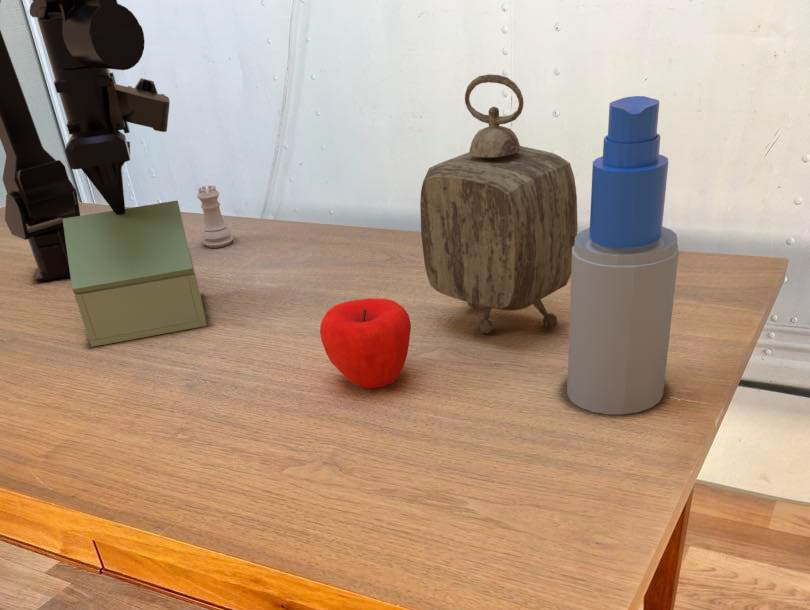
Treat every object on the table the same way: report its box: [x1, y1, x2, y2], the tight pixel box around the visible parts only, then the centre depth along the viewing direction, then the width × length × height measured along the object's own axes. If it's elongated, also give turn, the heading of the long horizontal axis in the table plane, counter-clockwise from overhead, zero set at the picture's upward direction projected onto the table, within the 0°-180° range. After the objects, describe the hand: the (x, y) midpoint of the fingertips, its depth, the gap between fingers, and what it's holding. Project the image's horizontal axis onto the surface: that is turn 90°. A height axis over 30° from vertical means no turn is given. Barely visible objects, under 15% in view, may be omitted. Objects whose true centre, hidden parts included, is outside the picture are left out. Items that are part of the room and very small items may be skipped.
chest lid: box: [63, 200, 194, 295], centre depth 99 cm, size 11×14×1 cm
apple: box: [319, 298, 412, 389], centre depth 84 cm, size 9×9×8 cm
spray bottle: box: [566, 95, 680, 416], centre depth 73 cm, size 9×9×25 cm
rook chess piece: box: [196, 185, 234, 249], centre depth 124 cm, size 4×4×8 cm
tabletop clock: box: [419, 74, 579, 335], centre depth 87 cm, size 14×9×25 cm, turn 47°
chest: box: [74, 249, 207, 348], centre depth 103 cm, size 11×14×6 cm
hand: (120, 213), depth 101 cm, fingers closed
